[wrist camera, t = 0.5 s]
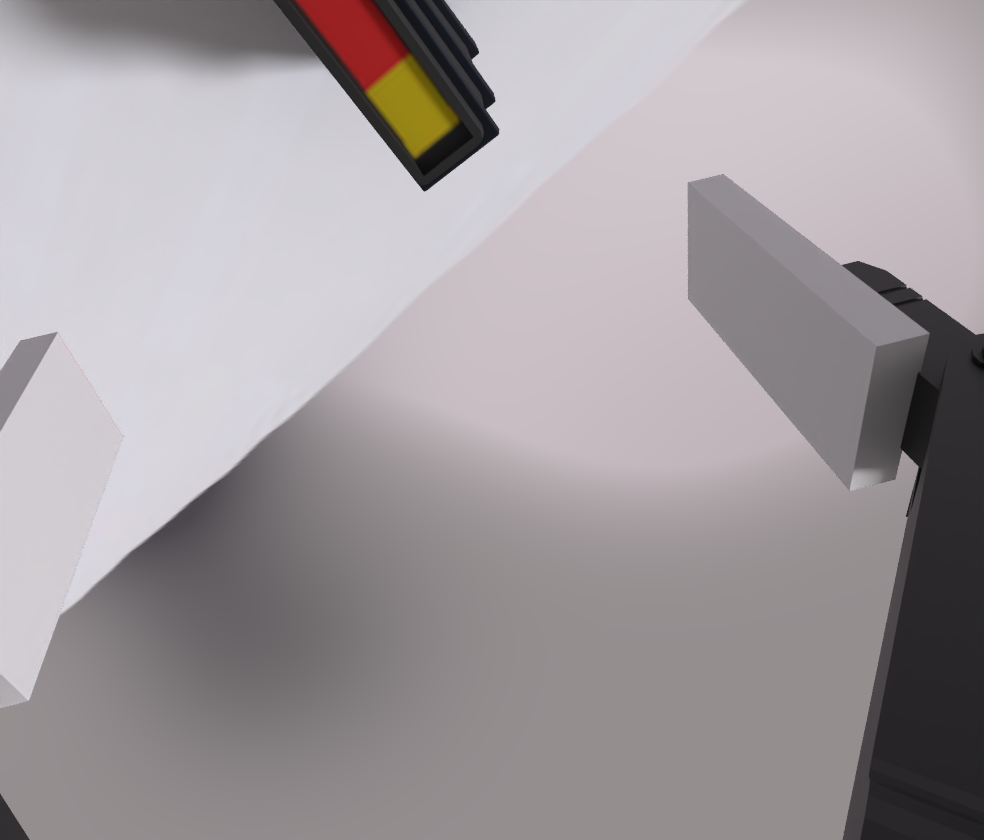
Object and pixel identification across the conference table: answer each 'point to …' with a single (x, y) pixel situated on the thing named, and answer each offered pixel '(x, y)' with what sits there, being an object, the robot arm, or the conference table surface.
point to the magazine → (404, 76)
